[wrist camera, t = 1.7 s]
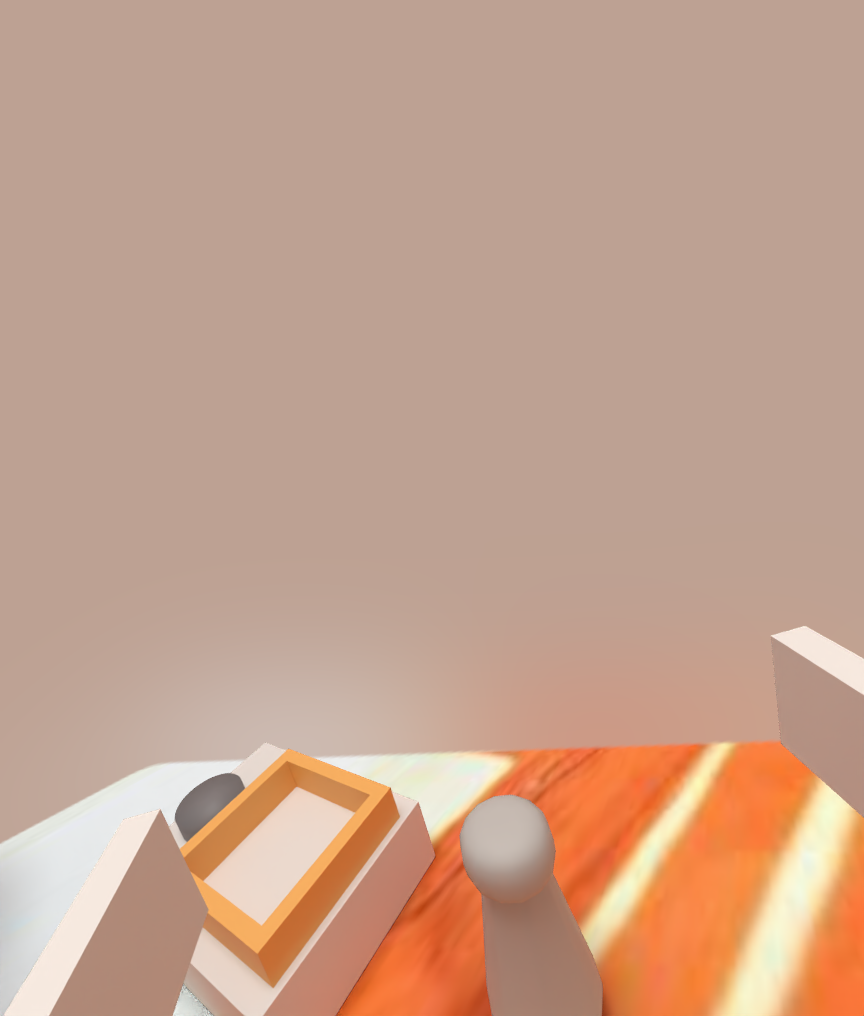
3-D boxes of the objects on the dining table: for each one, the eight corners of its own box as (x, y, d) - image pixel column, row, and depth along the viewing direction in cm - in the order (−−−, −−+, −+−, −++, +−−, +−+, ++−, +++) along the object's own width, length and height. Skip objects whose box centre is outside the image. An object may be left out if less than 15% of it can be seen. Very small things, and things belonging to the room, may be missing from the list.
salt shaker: (478, 1049, 26) (414, 854, 22) (523, 937, 30) (474, 761, 27) (592, 1126, 22) (536, 908, 19) (623, 986, 27) (582, 790, 23)
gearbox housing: (116, 914, 39) (75, 838, 37) (263, 777, 49) (237, 713, 47) (287, 1092, 26) (237, 990, 24) (435, 856, 37) (409, 773, 35)
